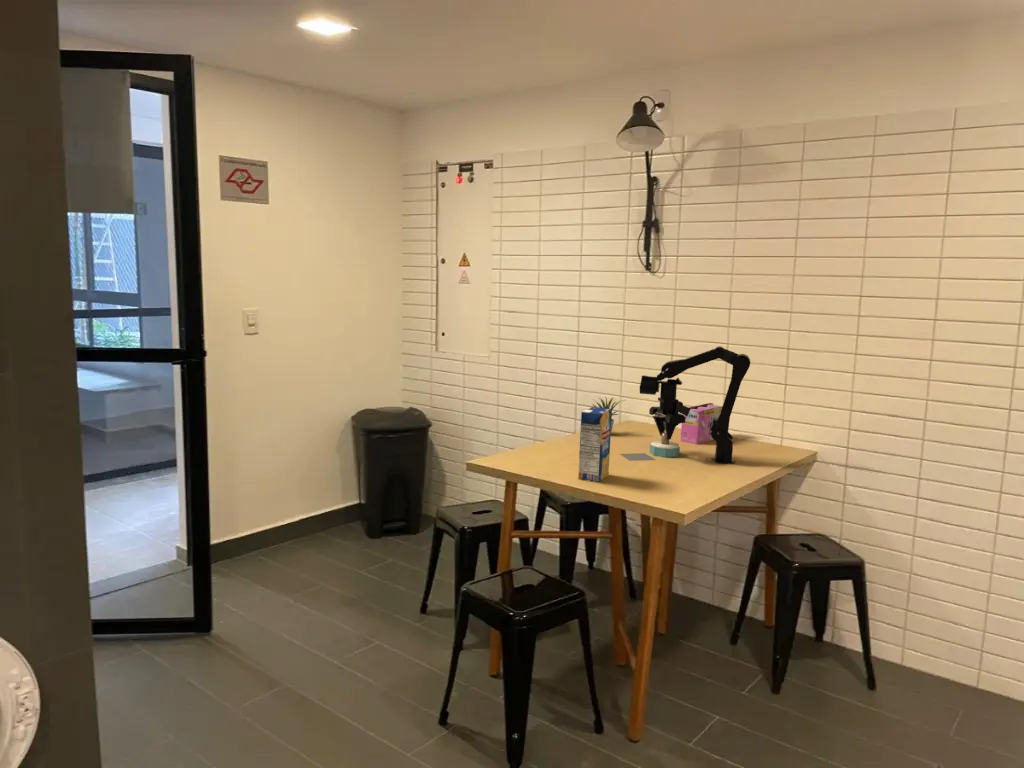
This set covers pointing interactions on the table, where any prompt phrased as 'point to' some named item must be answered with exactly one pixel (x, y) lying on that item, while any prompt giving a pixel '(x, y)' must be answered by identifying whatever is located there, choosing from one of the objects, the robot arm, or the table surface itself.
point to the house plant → (608, 407)
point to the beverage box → (595, 444)
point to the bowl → (664, 452)
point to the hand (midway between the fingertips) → (665, 437)
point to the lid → (664, 443)
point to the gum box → (699, 423)
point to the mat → (637, 456)
